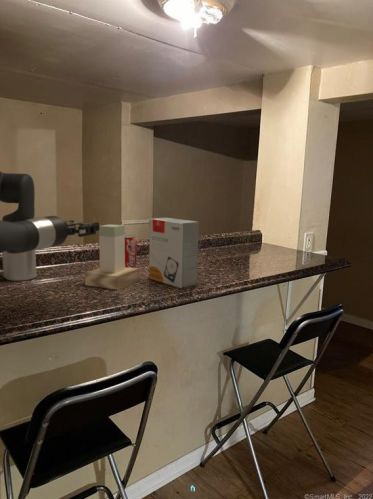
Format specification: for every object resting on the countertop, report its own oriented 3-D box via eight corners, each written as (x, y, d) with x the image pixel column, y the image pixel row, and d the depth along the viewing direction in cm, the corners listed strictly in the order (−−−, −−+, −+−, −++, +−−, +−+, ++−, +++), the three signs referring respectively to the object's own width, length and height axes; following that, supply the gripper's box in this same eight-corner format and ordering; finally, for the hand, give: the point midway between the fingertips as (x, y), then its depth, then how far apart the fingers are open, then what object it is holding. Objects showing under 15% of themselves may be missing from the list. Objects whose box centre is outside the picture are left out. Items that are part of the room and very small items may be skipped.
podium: (85, 285, 120) (84, 272, 119) (108, 276, 130) (107, 265, 130) (118, 289, 115) (117, 276, 114) (139, 280, 126) (139, 268, 125)
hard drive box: (148, 279, 128) (148, 218, 125) (165, 275, 133) (166, 217, 130) (180, 288, 117) (181, 222, 114) (198, 284, 122) (200, 220, 119)
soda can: (113, 271, 139) (113, 234, 136) (133, 269, 141) (133, 234, 139) (118, 275, 132) (118, 237, 130) (139, 274, 135) (139, 236, 133)
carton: (99, 271, 120) (98, 226, 118) (110, 267, 125) (109, 224, 123) (115, 273, 118) (114, 227, 116) (124, 269, 123) (124, 225, 121)
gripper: (65, 219, 90) (106, 213, 105) (19, 215, 96) (64, 210, 110) (66, 251, 92) (107, 240, 106) (21, 245, 97) (65, 236, 112)
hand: (85, 225), depth 108 cm, fingers open, 8 cm apart
